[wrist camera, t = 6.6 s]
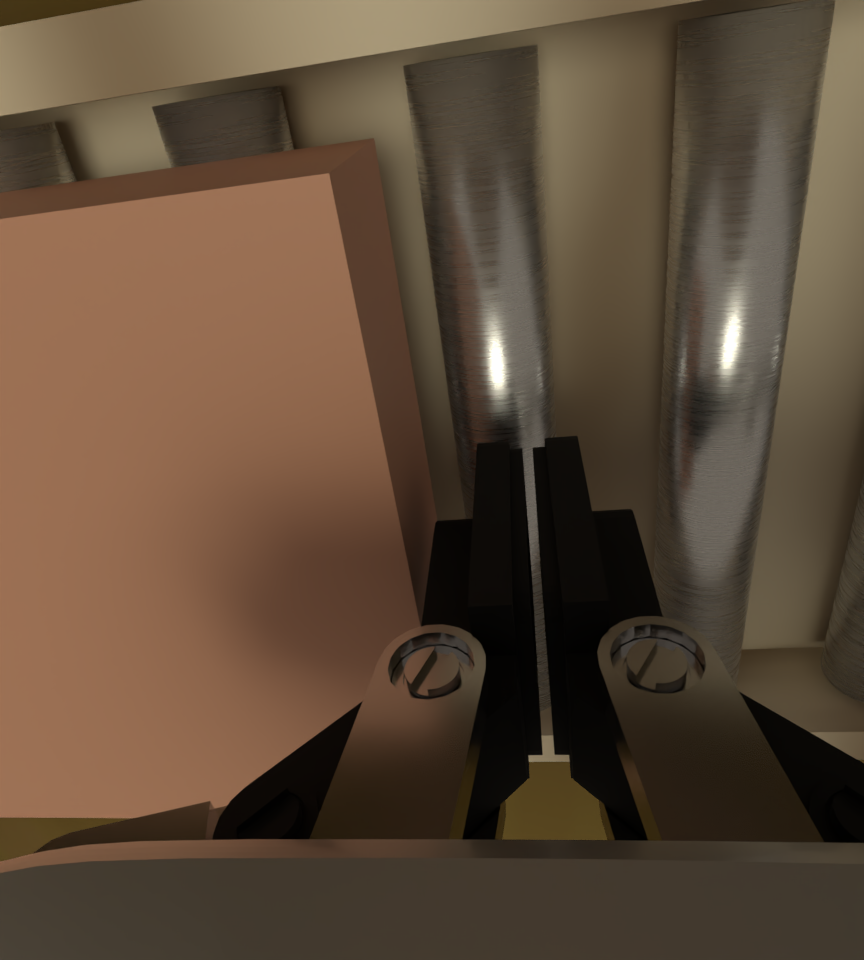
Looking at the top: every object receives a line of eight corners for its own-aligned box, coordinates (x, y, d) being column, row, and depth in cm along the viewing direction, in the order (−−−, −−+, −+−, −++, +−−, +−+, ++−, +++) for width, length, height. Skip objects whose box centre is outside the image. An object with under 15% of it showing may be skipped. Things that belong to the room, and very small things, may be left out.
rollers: (1106, -49, 10) (1231, -67, 8) (894, 639, 17) (937, 705, 15) (-383, 191, 14) (-509, 213, 12) (-39, 667, 21) (-86, 722, 19)
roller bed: (1299, -180, 10) (1710, -293, 6) (979, 626, 18) (1086, 758, 15) (-464, 137, 15) (-751, 167, 11) (-70, 660, 23) (-168, 766, 20)
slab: (373, 137, 10) (329, 172, 7) (466, 698, 16) (459, 820, 14) (-413, 252, 12) (-657, 310, 9) (-56, 708, 18) (-145, 816, 16)
